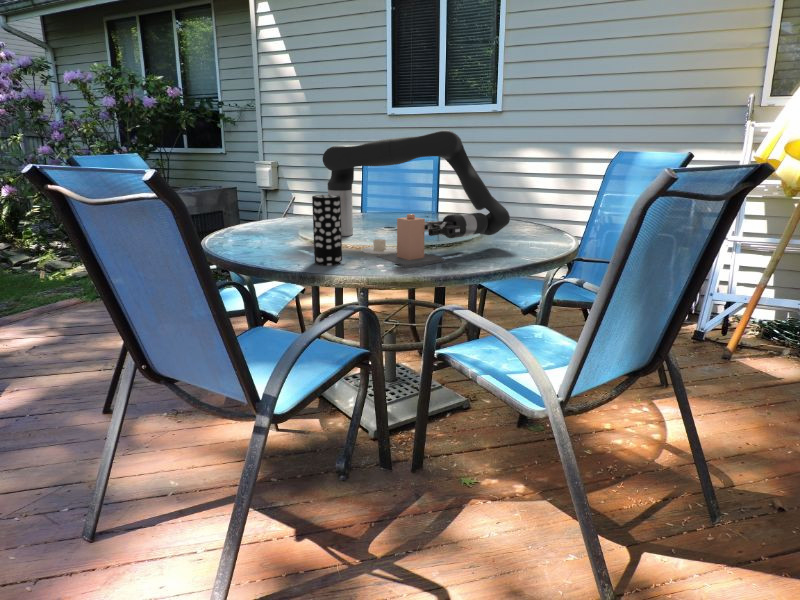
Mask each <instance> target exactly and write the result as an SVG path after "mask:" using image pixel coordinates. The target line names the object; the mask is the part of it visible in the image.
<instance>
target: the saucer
mask: <svg viewBox="0 0 800 600" xmlns="http://www.w3.org/2000/svg"><path fill="white" fill-rule="evenodd" d="M372 243H373V246H368V247H364V248H362V249H361V252H362V253H364V254H365V253H366V254H373V255H377V254H378V255H387V254H394V253H397V247H391V246H386V244H387V243H386V239H381V238H379V239H373V242H372Z"/></svg>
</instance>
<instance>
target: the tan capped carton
mask: <svg viewBox="0 0 800 600" xmlns="http://www.w3.org/2000/svg"><path fill="white" fill-rule="evenodd" d="M396 221H397V222H396V249H397V251H396V253H397V257H400V258H403V259H407V260H412V259H418V258H424V253H425V232H426V231H425V222H426V220H425V218H423V217H422V218H421V217H416V214H415V213H407V214H406V217H397V218H396Z"/></svg>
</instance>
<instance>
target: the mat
mask: <svg viewBox="0 0 800 600" xmlns="http://www.w3.org/2000/svg"><path fill="white" fill-rule="evenodd" d="M376 257H377V258H380V259H383V260H386V261H390V262H393V263H394V265H395V266H398V267H401V268H404V269H408V268H413V267H420V266H426V265H432V264H439V263H445V258H443V257H440V256H436V255H432V254H429V253H426V252H424V258H418V259H412V260H407V259H403V258H400V257H397V252H394V253H387V254H379V255H377V256H376Z"/></svg>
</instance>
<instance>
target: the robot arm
mask: <svg viewBox="0 0 800 600" xmlns="http://www.w3.org/2000/svg"><path fill="white" fill-rule="evenodd" d="M428 157H438V158H439V157H440V158H442V159H444V160H445V161H446V162H447V163H448V165H449V166H450V167H452V170H453V171H454V172H455V174H456V176H457V177H458V179H459V181H460V184H461V186H462V189H463V191H464V192H465V194H466V196H467V197H468V200H469V201H470V203H471V204H472V206H473V207H474V209H476V210H477V211H481V210H484V209H485V210H487V211H488V213H487V214H486V215H485V214H484V213H482V212H472V213H470V212H469V213H454V214H448V215H446V216H444V218H443V219H442V220H436V221H434V220H429V221H425V231H424V232H428V236H431V237H433V236H445V237H447V239H457V238H464V237H469V236H472V235H473V236H474V235H479V234H480V235H484V236H492V235H495V234H497V233H498V232H500V231H501V230H502V229H504V228H505V227H507V226H508V224H510V221H511V220H510V219H511V217H510V213H509V211H508V210H507V208H505V206H503V205H502V204H501V202H499V201H498V200H497V199H496V198H495V197H494V196H492V194H491V192H490V190H489V189H488V188H487V186H486V184H485V183H484V181H483V179H482V178H481V177H480V175H479V173H478V172H477V171H476V170H475V169H476V168H475V167H474V166H473V165H472V162H471V161H470V159H469V157H468V155H467V152H466V150H465V148H464V144H463V142H462V139H461V137H460V136H459V135H458V134H456V132H454V131H451V130H448V129H443V130H437V131H435V132H431V133H427V134H423V135H422V134H421V135H417V136H403V137H392V138H385V139H381V140H380V139H379V140H374V141H370V142H367V143H362V144H360V145H352V146H351V145H350V146H346V145H334V146H330V147H329V148H327V149H326V150H325V151H324V153H323V155H322V162H323V165H324V167H326V169H328V170H329V171H331V173H330V174H331V175H330V178H329V180H328V182H327V195H338V196H340V199H341V237H348V236H353V235H354V223H353V220H354V219H353V183H354V179H355V178H354V177H355V170H354V169H355V168H358V167H387V166H394V165H395V166H396V165H401V164H405V163H408V162H410V161H412V160H415V159H418V158H428Z"/></svg>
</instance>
